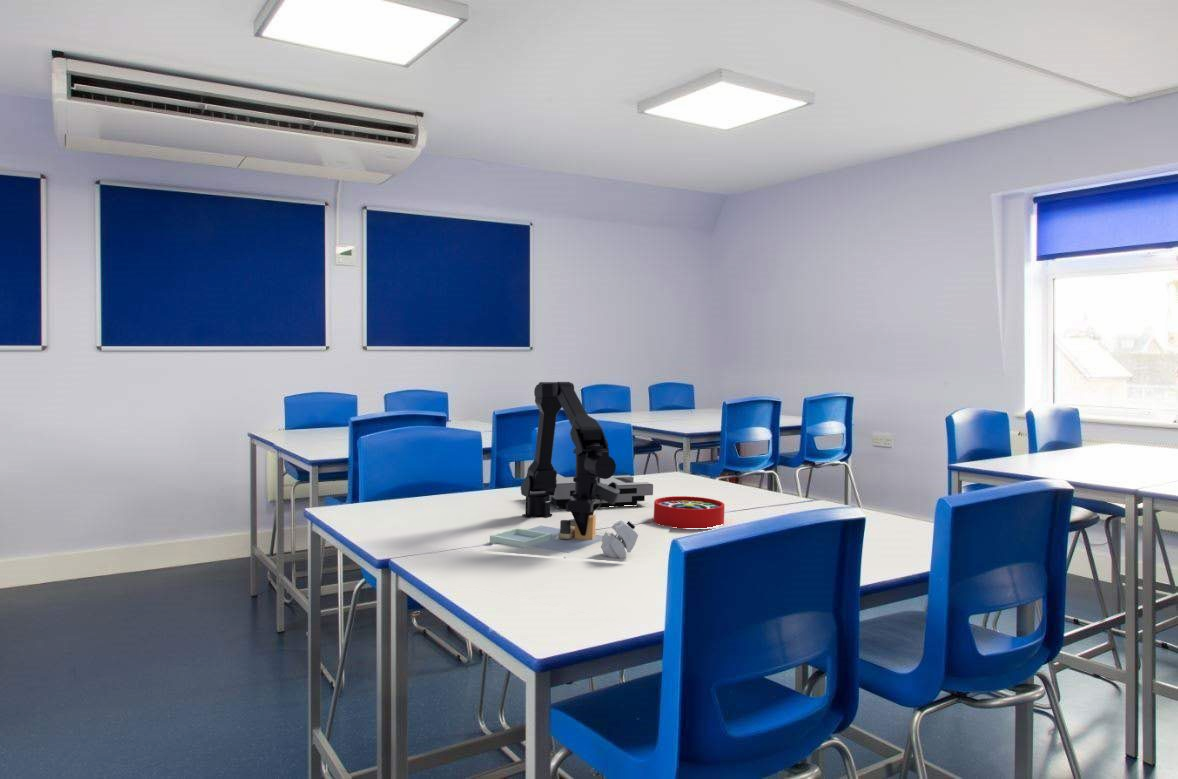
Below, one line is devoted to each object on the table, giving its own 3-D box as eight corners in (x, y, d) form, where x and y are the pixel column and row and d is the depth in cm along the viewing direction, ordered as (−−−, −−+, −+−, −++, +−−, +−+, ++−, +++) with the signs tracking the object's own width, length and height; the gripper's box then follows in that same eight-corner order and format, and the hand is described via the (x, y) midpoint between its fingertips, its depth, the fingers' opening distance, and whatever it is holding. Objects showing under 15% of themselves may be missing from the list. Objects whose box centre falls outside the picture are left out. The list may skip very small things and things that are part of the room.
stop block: (577, 535, 208) (578, 514, 207) (595, 536, 207) (595, 515, 206) (574, 538, 204) (575, 516, 204) (592, 539, 203) (592, 517, 203)
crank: (570, 525, 217) (570, 510, 216) (588, 527, 215) (588, 511, 215) (554, 537, 202) (554, 521, 202) (573, 539, 201) (573, 522, 201)
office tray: (652, 506, 253) (653, 480, 253) (555, 511, 242) (556, 484, 242) (626, 495, 272) (627, 470, 272) (536, 499, 261) (536, 473, 261)
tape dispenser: (618, 568, 185) (646, 535, 186) (597, 550, 184) (625, 517, 185) (613, 562, 191) (640, 529, 192) (592, 544, 190) (620, 512, 191)
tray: (489, 543, 199) (489, 535, 199) (516, 535, 208) (516, 527, 208) (525, 549, 193) (525, 542, 193) (551, 541, 203) (551, 533, 203)
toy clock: (693, 494, 244) (739, 505, 227) (692, 513, 244) (738, 526, 227) (640, 499, 233) (684, 512, 216) (639, 519, 233) (684, 533, 216)
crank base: (494, 541, 201) (494, 539, 201) (541, 527, 218) (541, 525, 218) (568, 555, 189) (568, 552, 189) (611, 539, 206) (611, 536, 206)
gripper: (611, 480, 194) (609, 544, 195) (623, 469, 212) (622, 528, 213) (566, 477, 196) (564, 541, 197) (582, 467, 214) (581, 525, 215)
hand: (585, 533), depth 205 cm, fingers closed on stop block, 4 cm apart
